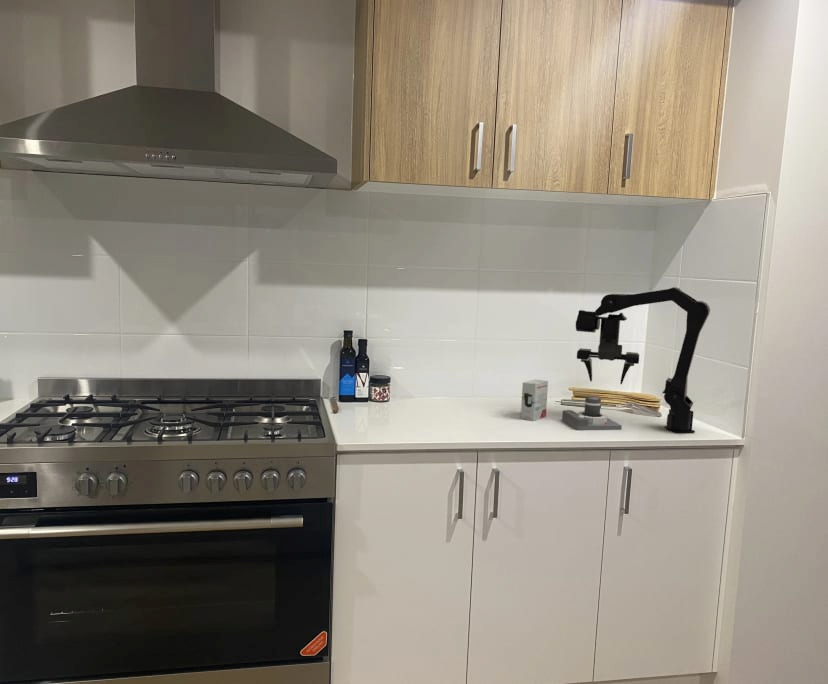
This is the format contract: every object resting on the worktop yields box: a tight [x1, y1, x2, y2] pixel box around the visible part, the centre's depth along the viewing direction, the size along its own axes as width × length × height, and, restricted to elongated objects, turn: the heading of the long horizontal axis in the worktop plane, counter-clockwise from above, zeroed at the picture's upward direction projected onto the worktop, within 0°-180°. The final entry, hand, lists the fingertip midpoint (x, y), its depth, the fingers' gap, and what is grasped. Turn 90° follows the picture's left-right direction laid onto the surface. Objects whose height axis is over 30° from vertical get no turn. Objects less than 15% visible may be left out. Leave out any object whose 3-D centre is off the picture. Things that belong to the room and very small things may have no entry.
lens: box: [583, 396, 602, 417], centre depth 206 cm, size 5×5×7 cm
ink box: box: [520, 378, 549, 422], centre depth 213 cm, size 9×5×12 cm, turn 141°
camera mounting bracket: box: [561, 409, 623, 431], centre depth 206 cm, size 14×12×4 cm
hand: (605, 382), depth 212 cm, fingers open, 9 cm apart
